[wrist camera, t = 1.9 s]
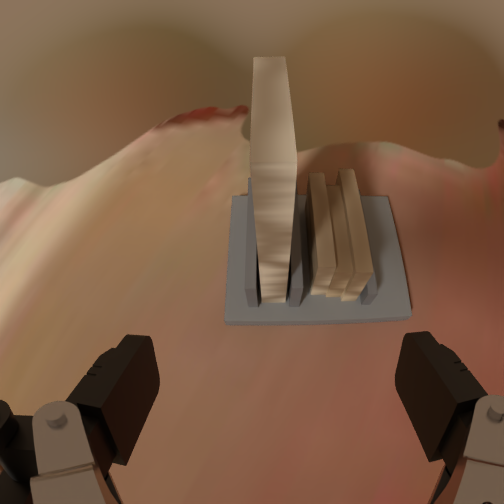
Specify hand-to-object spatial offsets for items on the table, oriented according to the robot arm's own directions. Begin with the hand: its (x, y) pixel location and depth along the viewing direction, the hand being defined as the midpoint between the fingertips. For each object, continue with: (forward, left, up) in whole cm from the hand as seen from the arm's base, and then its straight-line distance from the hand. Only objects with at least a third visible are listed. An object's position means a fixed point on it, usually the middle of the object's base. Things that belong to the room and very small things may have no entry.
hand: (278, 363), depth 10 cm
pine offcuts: (-6, -16, -22) cm, 28 cm away
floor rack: (-5, -16, -23) cm, 29 cm away
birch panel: (0, -16, -22) cm, 27 cm away
